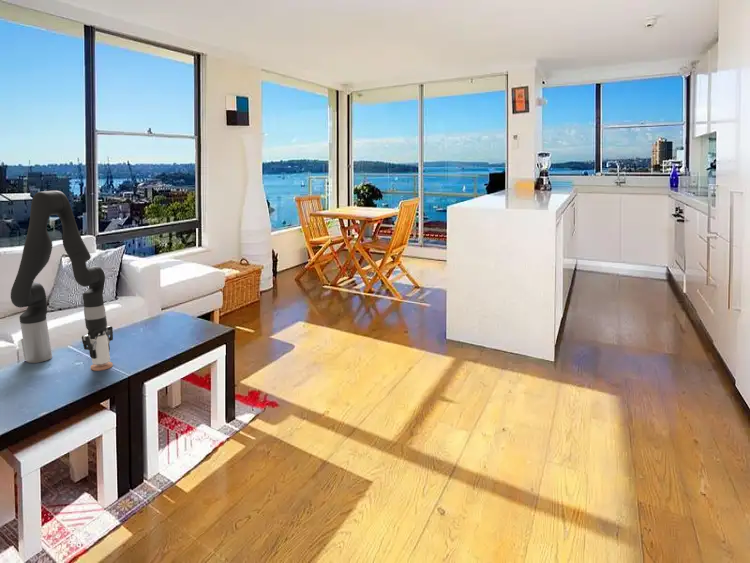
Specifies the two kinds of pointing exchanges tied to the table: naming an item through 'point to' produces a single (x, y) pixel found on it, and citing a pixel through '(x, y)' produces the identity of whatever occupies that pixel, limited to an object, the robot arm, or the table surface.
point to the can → (101, 350)
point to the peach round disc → (101, 366)
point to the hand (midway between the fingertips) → (100, 355)
